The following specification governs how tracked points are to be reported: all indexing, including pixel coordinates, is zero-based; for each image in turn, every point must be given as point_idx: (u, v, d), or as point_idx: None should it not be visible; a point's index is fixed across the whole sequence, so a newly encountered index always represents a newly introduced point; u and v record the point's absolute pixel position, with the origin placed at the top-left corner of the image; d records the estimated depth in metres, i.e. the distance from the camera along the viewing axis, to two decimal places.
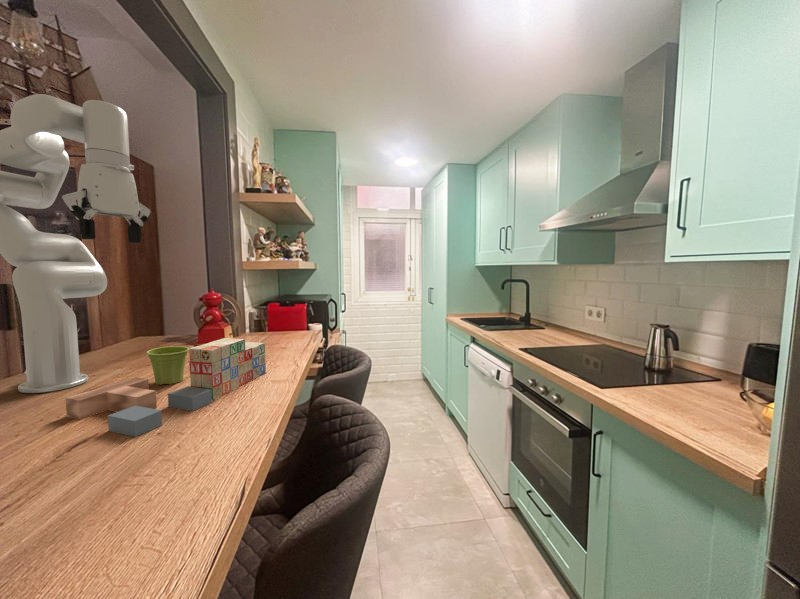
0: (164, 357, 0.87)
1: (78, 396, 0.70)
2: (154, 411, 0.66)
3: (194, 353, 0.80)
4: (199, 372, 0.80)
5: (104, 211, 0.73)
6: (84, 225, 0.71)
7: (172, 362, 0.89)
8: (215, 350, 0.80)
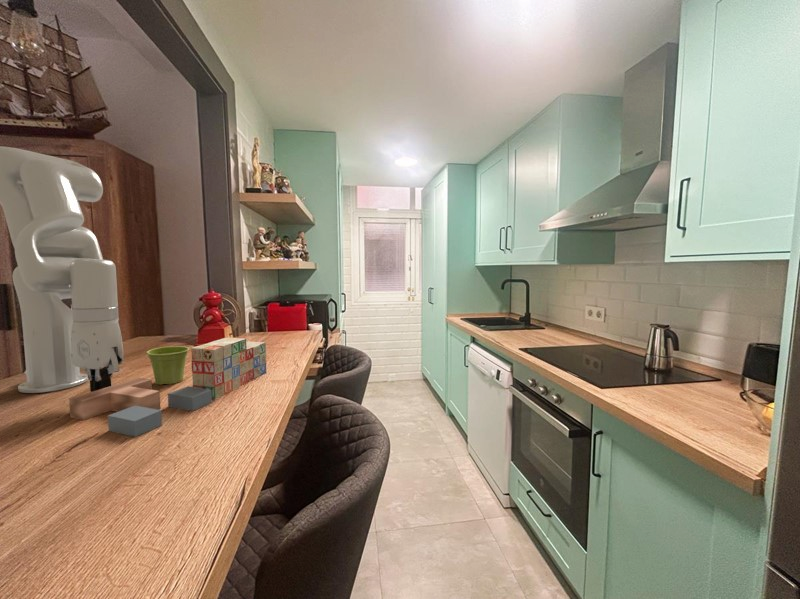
0: (164, 357, 0.87)
1: (81, 396, 0.70)
2: (154, 411, 0.66)
3: (196, 352, 0.80)
4: (201, 371, 0.81)
5: None
6: (108, 383, 0.77)
7: (172, 362, 0.89)
8: (217, 349, 0.81)
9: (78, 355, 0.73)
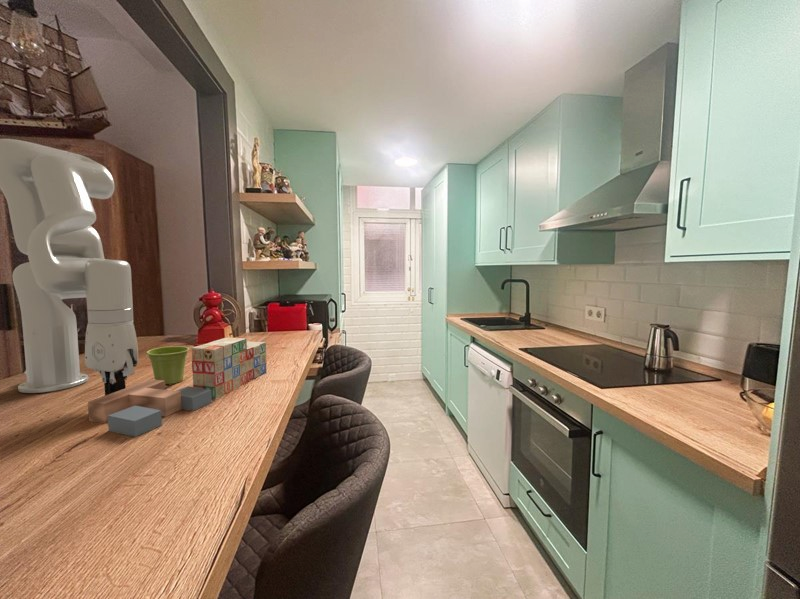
0: (164, 357, 0.87)
1: (100, 399, 0.69)
2: (154, 411, 0.66)
3: (197, 352, 0.80)
4: (201, 371, 0.81)
5: None
6: (123, 386, 0.75)
7: (172, 362, 0.89)
8: (218, 349, 0.81)
9: (93, 357, 0.72)
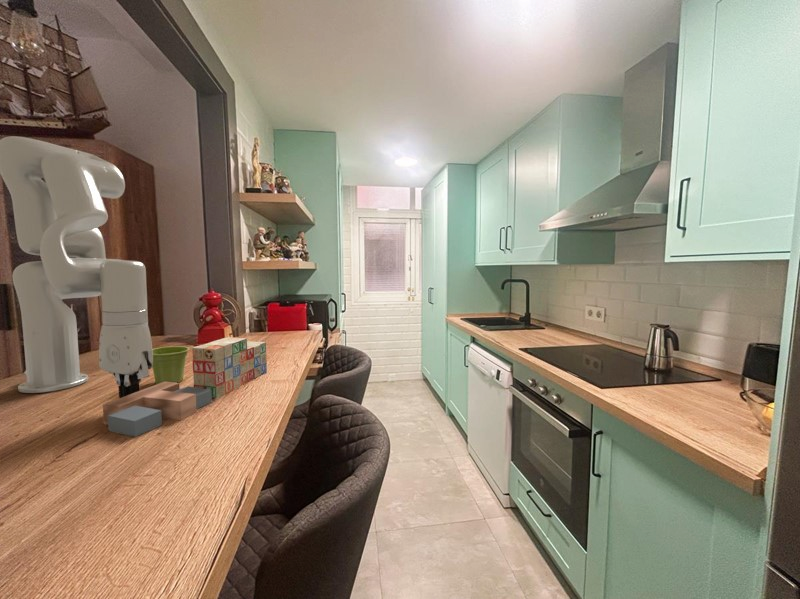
0: (164, 357, 0.87)
1: (115, 402, 0.68)
2: (154, 411, 0.66)
3: (197, 352, 0.81)
4: (202, 371, 0.81)
5: None
6: (137, 389, 0.74)
7: (172, 362, 0.89)
8: (218, 349, 0.81)
9: (107, 359, 0.71)
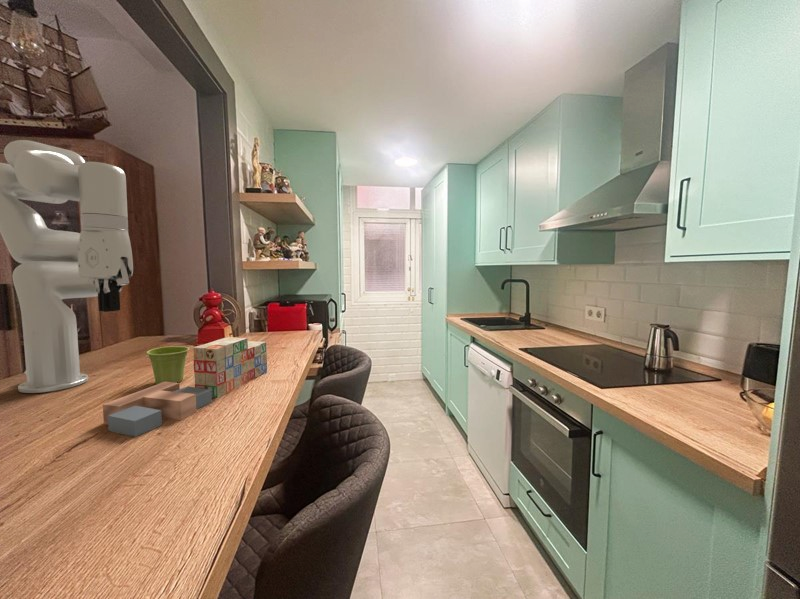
0: (164, 357, 0.87)
1: (115, 402, 0.68)
2: (154, 411, 0.66)
3: (198, 352, 0.81)
4: (203, 370, 0.81)
5: None
6: (117, 298, 0.74)
7: (172, 362, 0.89)
8: (219, 349, 0.81)
9: (86, 264, 0.70)
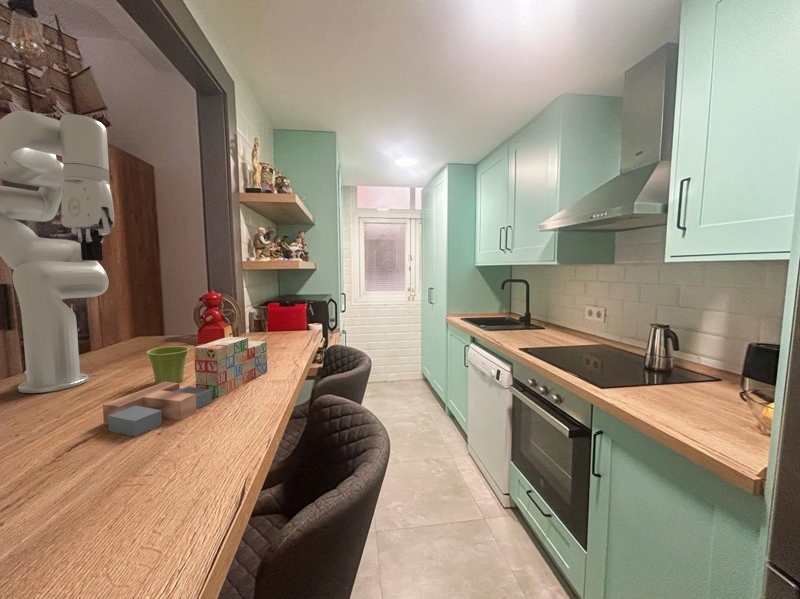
0: (164, 357, 0.87)
1: (115, 402, 0.68)
2: (154, 411, 0.66)
3: (199, 352, 0.81)
4: (204, 370, 0.82)
5: None
6: (99, 248, 0.77)
7: (172, 362, 0.89)
8: (220, 348, 0.82)
9: (69, 214, 0.74)
